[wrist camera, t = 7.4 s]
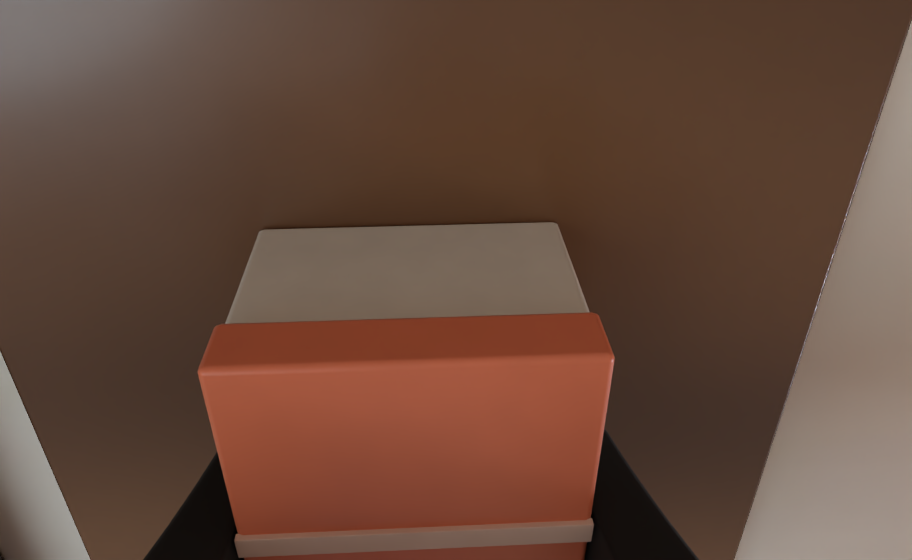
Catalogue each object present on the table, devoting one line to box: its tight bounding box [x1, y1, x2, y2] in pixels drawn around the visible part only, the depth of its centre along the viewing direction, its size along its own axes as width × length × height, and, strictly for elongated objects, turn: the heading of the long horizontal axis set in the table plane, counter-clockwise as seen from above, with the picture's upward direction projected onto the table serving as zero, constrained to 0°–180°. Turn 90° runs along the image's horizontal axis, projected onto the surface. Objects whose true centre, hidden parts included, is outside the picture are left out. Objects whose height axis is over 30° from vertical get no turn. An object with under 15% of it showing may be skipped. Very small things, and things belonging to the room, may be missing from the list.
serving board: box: [0, 0, 912, 560], centre depth 12 cm, size 20×12×1 cm, turn 0°
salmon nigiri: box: [197, 222, 615, 560], centre depth 10 cm, size 7×4×3 cm, turn 0°
